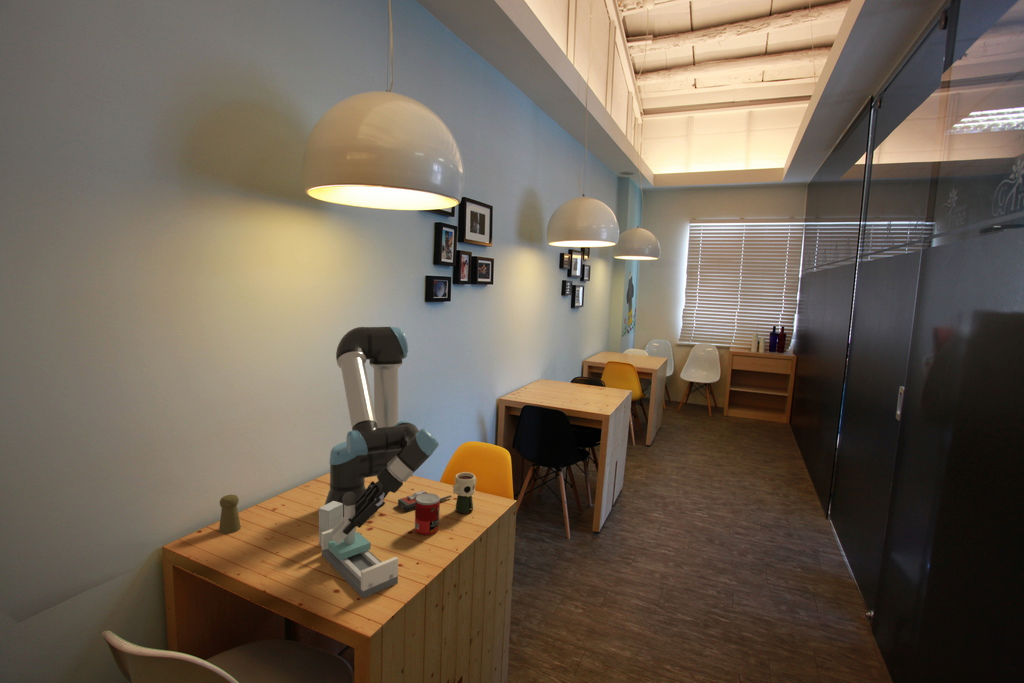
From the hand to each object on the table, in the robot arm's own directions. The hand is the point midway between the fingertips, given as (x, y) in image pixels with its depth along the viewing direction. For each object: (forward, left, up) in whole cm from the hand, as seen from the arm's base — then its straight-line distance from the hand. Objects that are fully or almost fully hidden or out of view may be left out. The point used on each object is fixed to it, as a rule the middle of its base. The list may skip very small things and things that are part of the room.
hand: (335, 537), depth 135 cm
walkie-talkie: (-17, +41, -8) cm, 45 cm away
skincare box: (-11, +4, -8) cm, 14 cm away
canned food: (+1, +31, -8) cm, 32 cm away
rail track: (+7, +4, -8) cm, 11 cm away
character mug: (-2, +49, -8) cm, 49 cm away
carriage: (+1, +4, -4) cm, 6 cm away
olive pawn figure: (-39, -17, -8) cm, 44 cm away
